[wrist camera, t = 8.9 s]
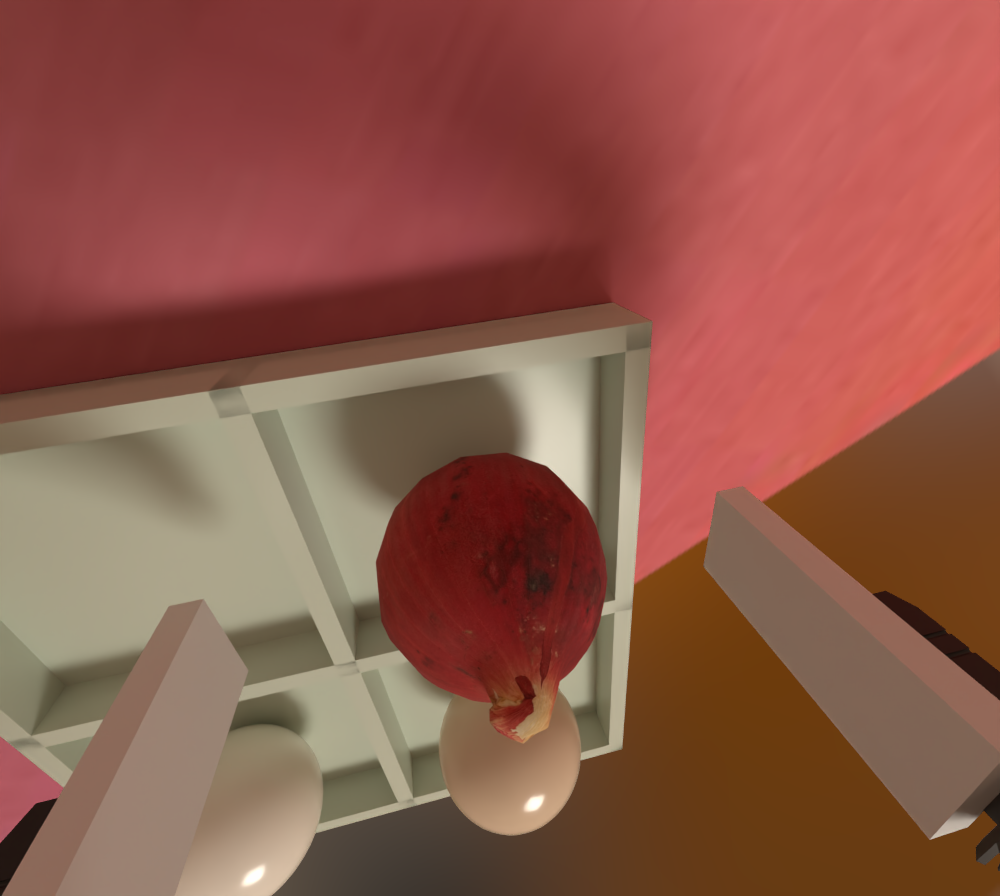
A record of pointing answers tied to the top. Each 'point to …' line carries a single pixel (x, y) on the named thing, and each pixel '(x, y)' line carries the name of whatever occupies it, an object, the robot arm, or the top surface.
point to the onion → (493, 585)
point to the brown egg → (508, 767)
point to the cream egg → (255, 815)
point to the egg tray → (300, 530)
